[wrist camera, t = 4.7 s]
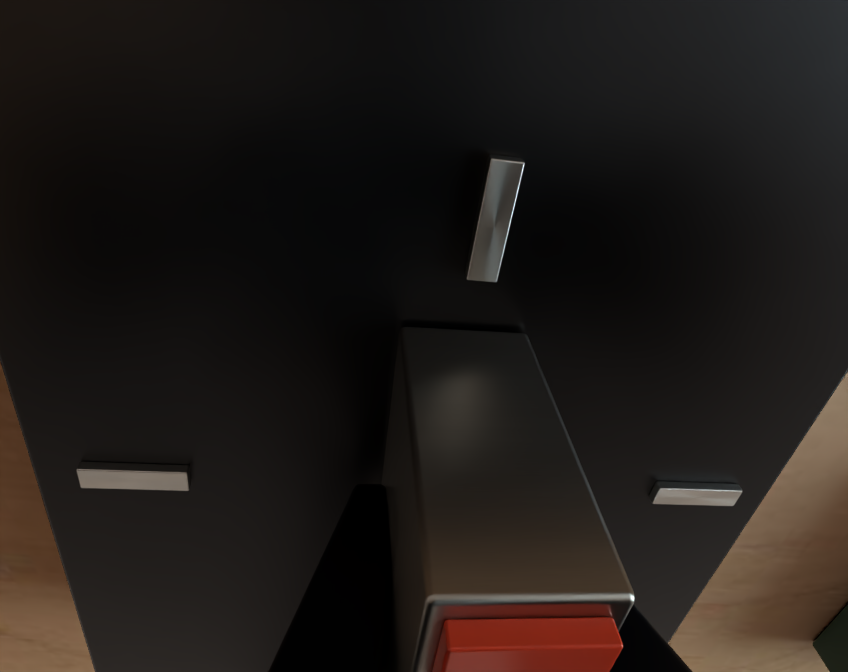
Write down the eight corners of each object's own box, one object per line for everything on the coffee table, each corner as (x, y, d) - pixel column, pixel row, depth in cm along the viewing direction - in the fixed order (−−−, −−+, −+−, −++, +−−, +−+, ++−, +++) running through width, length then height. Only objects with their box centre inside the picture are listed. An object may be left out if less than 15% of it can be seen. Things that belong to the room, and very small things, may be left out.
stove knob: (460, 594, 10) (504, 884, 7) (367, 595, 10) (371, 895, 7) (528, 330, 7) (654, 631, 4) (398, 323, 7) (428, 636, 4)
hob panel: (581, 596, 16) (623, 724, 14) (154, 595, 15) (109, 739, 12) (897, -62, 8) (1155, -60, 5) (6, -234, 6) (-240, -351, 4)
